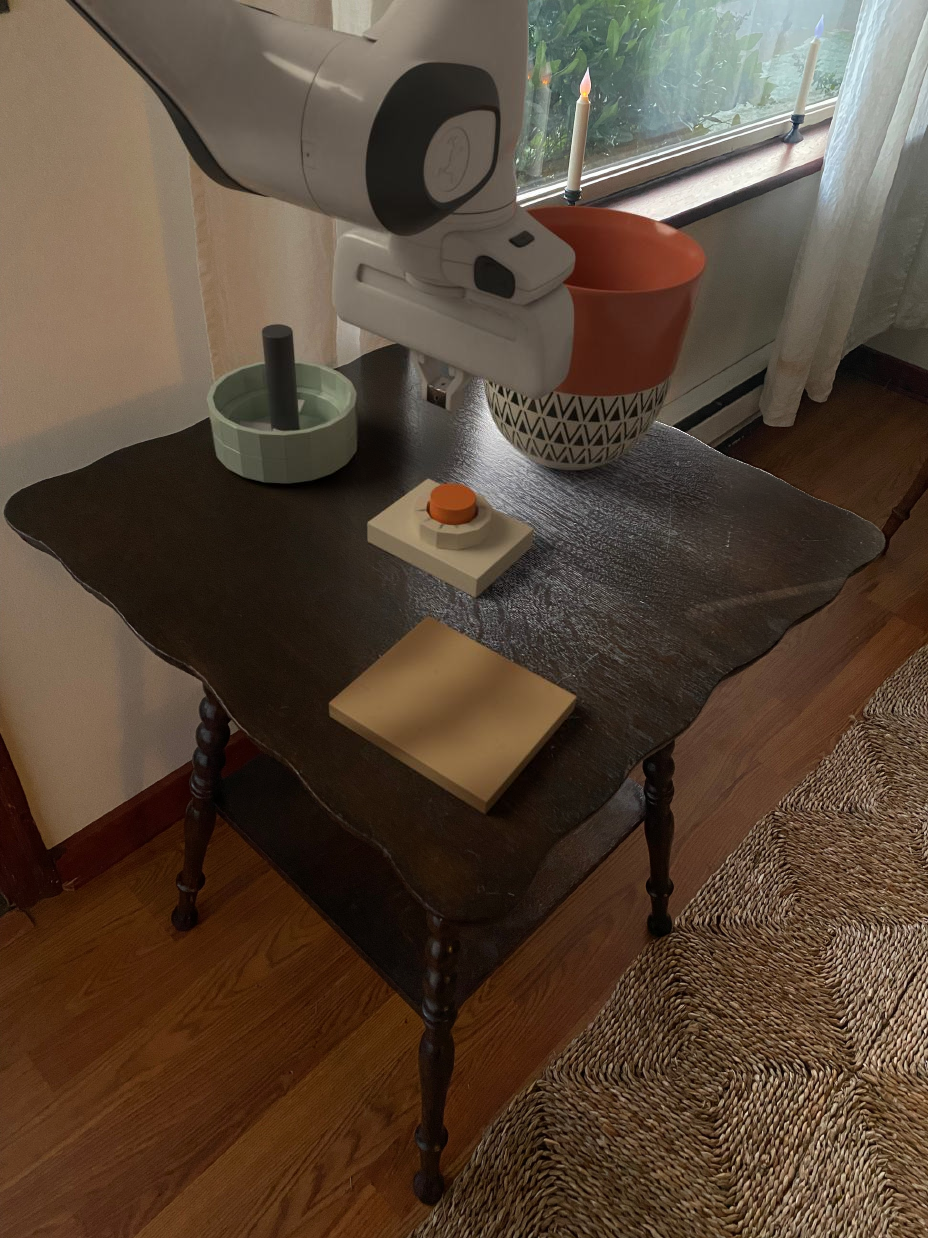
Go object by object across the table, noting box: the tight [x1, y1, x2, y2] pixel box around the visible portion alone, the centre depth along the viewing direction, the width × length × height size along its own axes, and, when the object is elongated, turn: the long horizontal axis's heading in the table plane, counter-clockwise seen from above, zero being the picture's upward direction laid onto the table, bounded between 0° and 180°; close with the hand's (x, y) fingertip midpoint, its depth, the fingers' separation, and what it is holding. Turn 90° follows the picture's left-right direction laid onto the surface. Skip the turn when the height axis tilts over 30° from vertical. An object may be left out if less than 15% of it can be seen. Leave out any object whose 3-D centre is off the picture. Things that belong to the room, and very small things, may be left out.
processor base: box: [366, 478, 535, 599], centre depth 80 cm, size 12×9×4 cm
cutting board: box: [328, 615, 578, 815], centre depth 66 cm, size 14×12×2 cm
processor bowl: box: [206, 359, 359, 484], centre depth 89 cm, size 14×14×6 cm
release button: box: [430, 482, 476, 526], centre depth 78 cm, size 4×4×2 cm
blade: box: [239, 323, 309, 432], centre depth 87 cm, size 10×10×12 cm
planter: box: [482, 205, 708, 471], centre depth 86 cm, size 20×20×21 cm
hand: (442, 403), depth 73 cm, fingers closed
